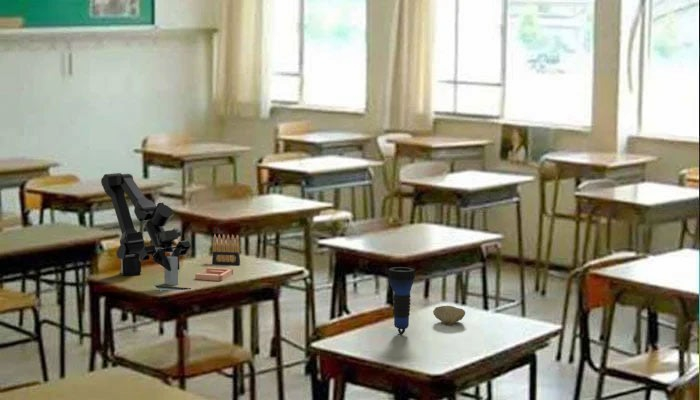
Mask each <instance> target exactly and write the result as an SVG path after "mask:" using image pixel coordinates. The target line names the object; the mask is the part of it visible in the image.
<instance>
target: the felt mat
mask: <svg viewBox="0 0 700 400" xmlns="http://www.w3.org/2000/svg"><path fill="white" fill-rule="evenodd" d="M155 286H156V287H157V288H158V289H159V290H160V291H159V290H158V289H157V288H156V287H155V288H156V289H157V290H158V291H159V292H163V291H162V290H173V291H185V290H187V291H188V290H191V289H192V288H191V287H179V286H178V287H177V286H166V285H155Z"/></svg>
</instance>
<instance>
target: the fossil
mask: <svg viewBox="0 0 700 400" xmlns="http://www.w3.org/2000/svg"><path fill="white" fill-rule="evenodd" d="M432 313H433V315H434V317H435V318H436V319H437V320H439V321H440V322H441V323H442V324H443V325H445V326H448V325H449V326H452V325H454V324H456V323H458V322H459V321H462V319H464V317H465V315H466V311H465V309H464V308H460V307H456V306H453V305H440V306H436V307H434V310H433V311H432Z"/></svg>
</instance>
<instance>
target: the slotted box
mask: <svg viewBox="0 0 700 400" xmlns="http://www.w3.org/2000/svg"><path fill="white" fill-rule="evenodd" d="M232 275H234V269H233V268H221V267H219V268H218V267H206V268H205V273H198V272H197V273H195V275H194V279H195V280H203V281H217V282H219V281H220V282H222V281H224V280H225V279H227V278H229V277H231V276H232Z"/></svg>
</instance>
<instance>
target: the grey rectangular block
mask: <svg viewBox="0 0 700 400" xmlns="http://www.w3.org/2000/svg"><path fill="white" fill-rule="evenodd" d="M165 256H166V258H167V260H168V263H169V265H170V267H171V271H168V270H167V269H165V268H164V267H163V268H164V285H168V286H175V285H179V270H178V257H176V256H172V255H170V254H169V255H165Z"/></svg>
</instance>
